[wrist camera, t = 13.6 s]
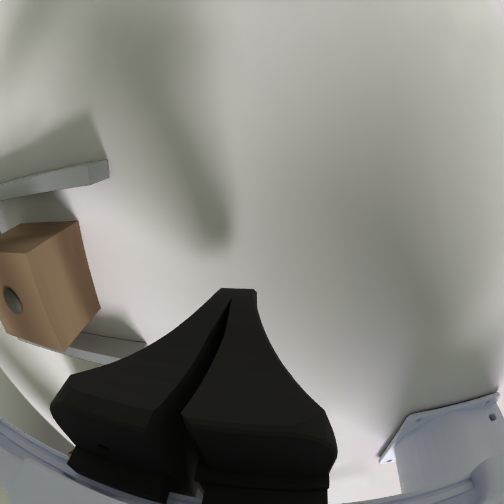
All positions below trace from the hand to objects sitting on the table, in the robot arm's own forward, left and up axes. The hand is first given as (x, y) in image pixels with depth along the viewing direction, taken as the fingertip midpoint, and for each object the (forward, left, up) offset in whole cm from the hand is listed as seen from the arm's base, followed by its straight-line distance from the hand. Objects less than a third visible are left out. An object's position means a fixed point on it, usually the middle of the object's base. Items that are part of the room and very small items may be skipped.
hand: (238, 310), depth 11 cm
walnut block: (+11, -1, -2) cm, 11 cm away
